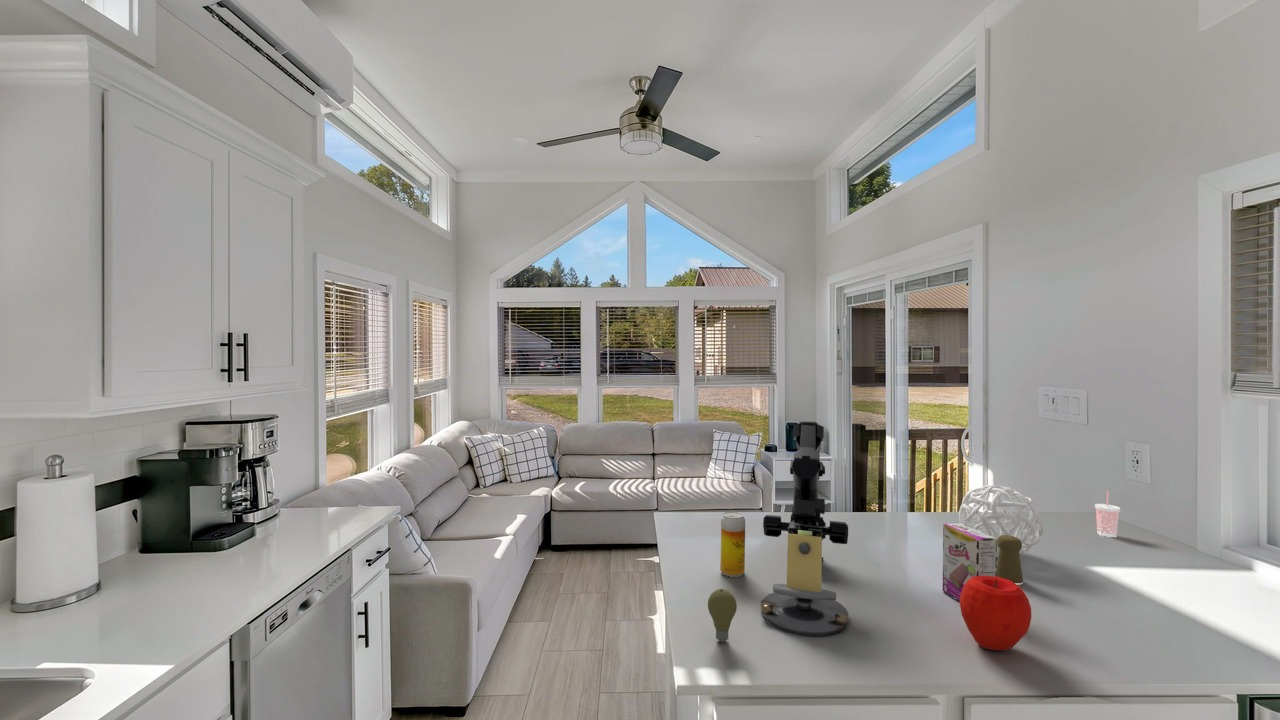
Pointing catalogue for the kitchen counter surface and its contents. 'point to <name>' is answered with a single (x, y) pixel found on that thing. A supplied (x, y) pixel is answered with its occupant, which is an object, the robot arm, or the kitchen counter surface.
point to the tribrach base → (804, 615)
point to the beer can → (732, 544)
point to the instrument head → (804, 568)
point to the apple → (995, 611)
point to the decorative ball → (1019, 505)
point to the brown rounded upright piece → (1009, 558)
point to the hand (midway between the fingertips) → (804, 564)
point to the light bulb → (722, 612)
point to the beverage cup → (1107, 518)
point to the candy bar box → (966, 556)
